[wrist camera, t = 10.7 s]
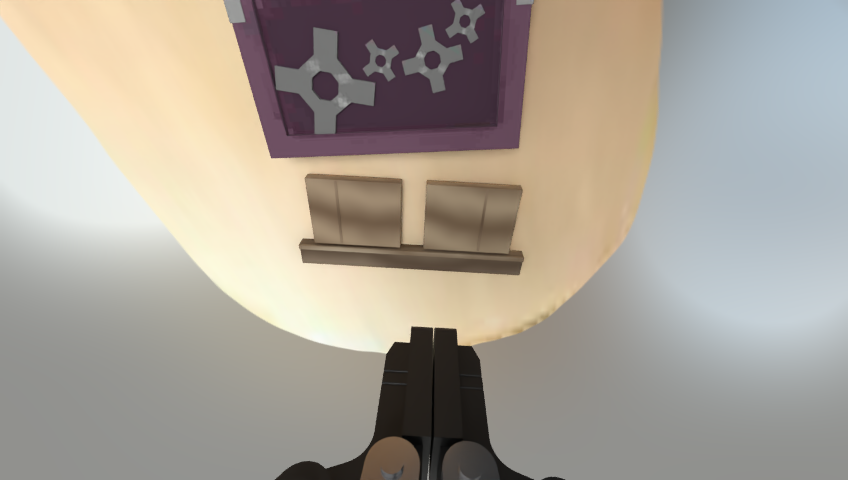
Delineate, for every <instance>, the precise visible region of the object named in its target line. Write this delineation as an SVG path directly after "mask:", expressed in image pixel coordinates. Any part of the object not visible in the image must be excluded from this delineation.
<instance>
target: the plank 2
mask: <svg viewBox="0 0 848 480" xmlns="http://www.w3.org/2000/svg"><path fill="white" fill-rule="evenodd" d="M522 191H523V190H522V188H521V186H517V185H499V184H482V183H464V182H447V181H429V180H427V190H426V208H425V226H424V244H423V249H434V250H452V251H469V252H486V253H504V254H509V249H510V245H511V240H512V236H513V231H514V227H515V222H516V218H517V213H518V209H519V204H520V200H521V195H522Z"/></svg>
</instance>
